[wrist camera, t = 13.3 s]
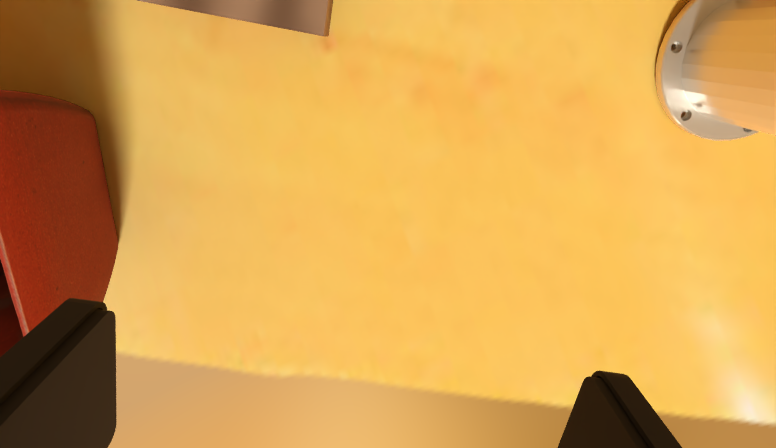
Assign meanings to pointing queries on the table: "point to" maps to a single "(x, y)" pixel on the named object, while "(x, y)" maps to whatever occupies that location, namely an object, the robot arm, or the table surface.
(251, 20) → the condiment stand
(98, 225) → the plant pot
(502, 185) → the table surface
